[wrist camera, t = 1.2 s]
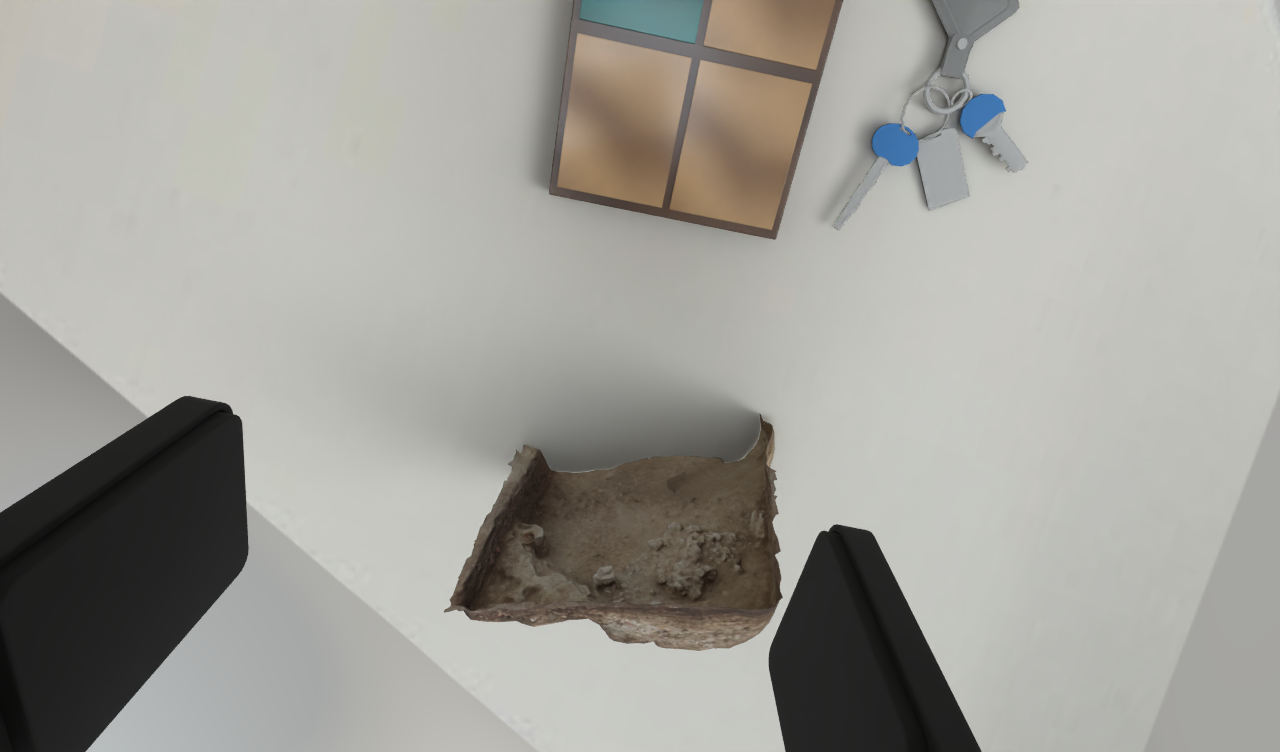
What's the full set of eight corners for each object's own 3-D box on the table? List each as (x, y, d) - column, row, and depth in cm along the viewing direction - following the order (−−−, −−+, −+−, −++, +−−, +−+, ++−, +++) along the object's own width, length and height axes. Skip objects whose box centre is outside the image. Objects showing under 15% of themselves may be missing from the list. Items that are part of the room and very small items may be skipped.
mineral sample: (769, 410, 39) (832, 583, 25) (771, 465, 41) (832, 655, 27) (507, 436, 40) (430, 614, 26) (520, 488, 42) (453, 682, 28)
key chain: (951, -67, 29) (959, -71, 28) (1108, -7, 30) (1120, -10, 29) (828, 226, 34) (832, 229, 34) (963, 269, 35) (970, 273, 34)
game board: (600, -176, 28) (597, -189, 26) (868, -112, 28) (878, -122, 27) (551, 191, 34) (547, 194, 33) (771, 235, 35) (776, 240, 33)
